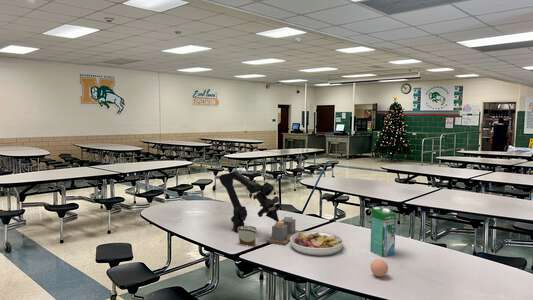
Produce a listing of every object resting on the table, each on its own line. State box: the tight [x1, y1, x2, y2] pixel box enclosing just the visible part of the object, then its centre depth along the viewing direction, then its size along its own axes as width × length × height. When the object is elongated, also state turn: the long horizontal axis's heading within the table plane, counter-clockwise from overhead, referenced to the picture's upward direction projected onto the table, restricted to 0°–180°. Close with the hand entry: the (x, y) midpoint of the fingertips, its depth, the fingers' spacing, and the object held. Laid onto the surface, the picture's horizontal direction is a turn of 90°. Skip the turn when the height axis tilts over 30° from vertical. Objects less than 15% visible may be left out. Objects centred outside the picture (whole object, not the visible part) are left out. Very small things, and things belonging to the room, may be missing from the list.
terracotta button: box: [275, 220, 284, 227], centre depth 219 cm, size 4×4×3 cm
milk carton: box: [369, 205, 397, 258], centre depth 200 cm, size 9×9×25 cm
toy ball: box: [370, 258, 389, 278], centre depth 171 cm, size 8×8×8 cm
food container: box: [237, 225, 258, 248], centre depth 214 cm, size 12×6×10 cm, turn 65°
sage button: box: [283, 214, 293, 221], centre depth 231 cm, size 4×4×3 cm
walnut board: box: [265, 229, 301, 246], centre depth 226 cm, size 26×12×1 cm, turn 155°
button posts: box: [271, 218, 296, 241], centre depth 226 cm, size 21×7×8 cm, turn 155°
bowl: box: [289, 230, 344, 256], centre depth 209 cm, size 30×30×8 cm
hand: (278, 221), depth 220 cm, fingers closed, pressing on terracotta button
